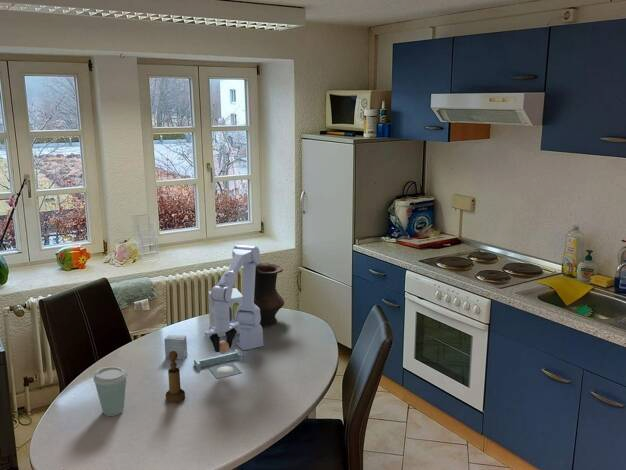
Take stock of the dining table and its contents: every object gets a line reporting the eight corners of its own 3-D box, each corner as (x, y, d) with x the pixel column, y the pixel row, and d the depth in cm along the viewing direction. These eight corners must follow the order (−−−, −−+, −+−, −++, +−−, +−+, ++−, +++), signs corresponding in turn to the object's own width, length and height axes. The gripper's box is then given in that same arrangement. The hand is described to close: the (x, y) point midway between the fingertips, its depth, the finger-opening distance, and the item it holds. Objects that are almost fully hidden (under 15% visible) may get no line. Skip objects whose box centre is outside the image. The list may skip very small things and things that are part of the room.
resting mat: (232, 362, 232) (232, 362, 232) (242, 372, 223) (242, 372, 223) (208, 368, 227) (208, 367, 227) (217, 378, 219) (217, 378, 219)
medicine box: (187, 354, 239) (186, 335, 237) (184, 359, 234) (183, 339, 232) (169, 354, 239) (167, 334, 237) (165, 358, 235) (164, 338, 233)
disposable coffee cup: (129, 401, 202) (125, 361, 199) (130, 417, 193) (127, 375, 189) (96, 406, 199) (92, 366, 195) (96, 423, 189) (92, 381, 186)
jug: (260, 312, 286) (258, 253, 278) (292, 319, 277) (291, 258, 269) (233, 326, 268) (231, 264, 261) (266, 334, 259) (265, 270, 252)
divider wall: (236, 355, 238) (236, 349, 238) (241, 360, 234) (241, 354, 234) (194, 364, 230) (193, 359, 229) (198, 369, 226) (197, 364, 225)
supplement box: (216, 337, 255) (214, 300, 251) (209, 327, 267) (207, 291, 263) (245, 333, 260) (244, 296, 256) (237, 322, 272) (236, 287, 268)
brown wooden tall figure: (168, 405, 200) (165, 357, 196) (163, 397, 205) (160, 350, 201) (187, 401, 203) (184, 353, 199) (182, 392, 208) (179, 346, 204)
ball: (224, 349, 228) (224, 337, 227) (231, 353, 224) (231, 341, 223) (213, 352, 224) (213, 340, 223) (221, 356, 221) (221, 344, 220)
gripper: (231, 309, 228) (232, 341, 231) (199, 318, 219) (201, 351, 222) (242, 314, 223) (243, 346, 226) (209, 323, 214) (211, 357, 217)
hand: (223, 349), depth 224 cm, fingers closed on ball, 5 cm apart
